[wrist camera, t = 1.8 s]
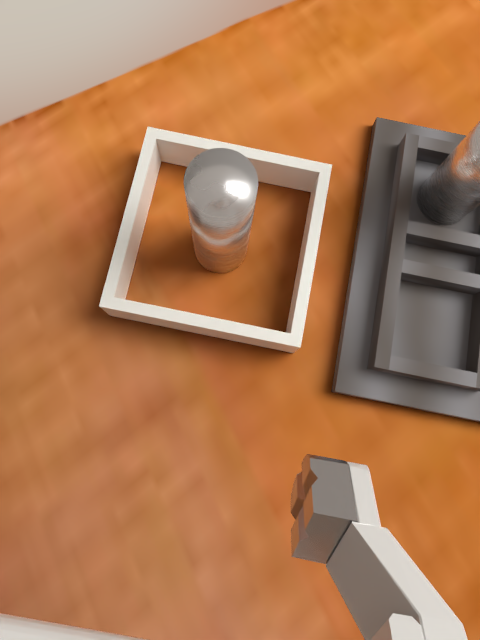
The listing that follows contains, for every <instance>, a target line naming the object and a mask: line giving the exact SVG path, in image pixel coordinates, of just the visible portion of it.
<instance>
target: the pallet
mask: <svg viewBox="0 0 480 640" xmlns="http://www.w3.org/2000/svg"><path fill="white" fill-rule="evenodd" d="M465 137H466V136H465V135H460V134H455V133H450V132H446V131H441V130H436V129H431V128H426V127H421V126H417V125H412V124H407V123H402V122H397V121H393V120H388V119H383V118H378V117H377V118H376V120H375V122H374V124H373V127H372V134H371V140H370V146H369V153H368V159H367V166H366V172H365V179H364V185H363V192H362V198H361V205H360V211H359V217H358V224H357V230H356V237H355V243H354V250H353V256H352V263H351V269H350V276H349V282H348V288H347V295H346V301H345V308H344V314H343V321H342V327H341V334H340V340H339V347H338V353H337V359H336V366H335V372H334V379H333V385H332V392H335V393H340V394H345V395H350V396H354V397H359V398H364V399H369V400H374V401H379V402H384V403H389V404H394V405H398V406H403V407H408V408H413V409H418V410H423V411H428V412H433V413H438V414H443V415H447V416H452V417H457V418H462V419H467V420H472V421H477V422H480V205H479V206H478V207H477V208H475V209H474V210H473V211H472V212H470V213H469V214H468V215H466V216H465V217H464V218H463V219H461V220H460V221H459V222H457V223H454V224H451V225H440V224H437V223H434V222H432V221H430V220H429V219H428V218H426V217H425V216H424V214H423V213H422V212H421V210H420V208H419V205H418V200H417V196H418V191H419V189H420V187H421V186H422V184H423V183H424V182H425V181H426V180H427V179H428V178H429V177H430V176H431V174H432V173H433V172H434V171H435V170H436V169H437V168H438V167H439V166H440V164H441V163H442V162H443V161H444V160H445V159H446V158H447V157H448V156H449V155H450V153H451V152H452V151H453V150H454V149H455V148H456V147H457V146H458V145H459V144H460V142H461V141H462V140H463V139H464V138H465Z"/></svg>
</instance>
